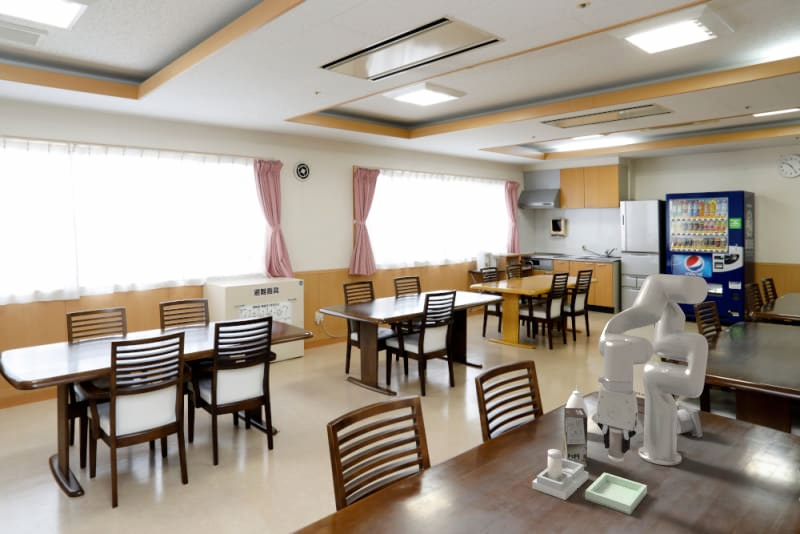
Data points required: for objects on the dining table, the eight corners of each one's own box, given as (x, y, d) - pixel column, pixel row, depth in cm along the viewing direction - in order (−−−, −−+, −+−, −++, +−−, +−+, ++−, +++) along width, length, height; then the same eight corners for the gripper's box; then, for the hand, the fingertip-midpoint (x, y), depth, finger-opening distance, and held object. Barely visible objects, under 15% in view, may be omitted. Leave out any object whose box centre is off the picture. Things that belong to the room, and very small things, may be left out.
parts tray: (604, 480, 152) (604, 472, 152) (646, 493, 144) (646, 485, 144) (585, 499, 142) (585, 490, 142) (629, 515, 134) (630, 505, 134)
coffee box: (587, 467, 160) (588, 417, 159) (566, 466, 162) (566, 416, 161) (583, 455, 169) (583, 407, 168) (562, 453, 171) (563, 406, 169)
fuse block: (556, 468, 160) (557, 434, 159) (588, 478, 154) (588, 443, 153) (532, 488, 148) (532, 451, 148) (565, 500, 142) (565, 461, 141)
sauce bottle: (568, 426, 193) (569, 380, 192) (590, 431, 189) (590, 383, 187) (562, 433, 187) (562, 385, 186) (583, 438, 182) (584, 389, 181)
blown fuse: (611, 454, 145) (612, 423, 144) (626, 458, 142) (626, 426, 142) (606, 458, 142) (606, 427, 141) (621, 463, 139) (621, 431, 139)
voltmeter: (709, 434, 185) (710, 407, 184) (694, 442, 178) (695, 414, 177) (638, 413, 206) (639, 389, 205) (623, 420, 199) (623, 395, 199)
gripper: (582, 382, 143) (581, 445, 145) (645, 394, 132) (644, 463, 134) (593, 376, 149) (592, 437, 150) (654, 387, 138) (652, 453, 139)
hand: (616, 448), depth 142 cm, fingers closed on blown fuse, 4 cm apart
